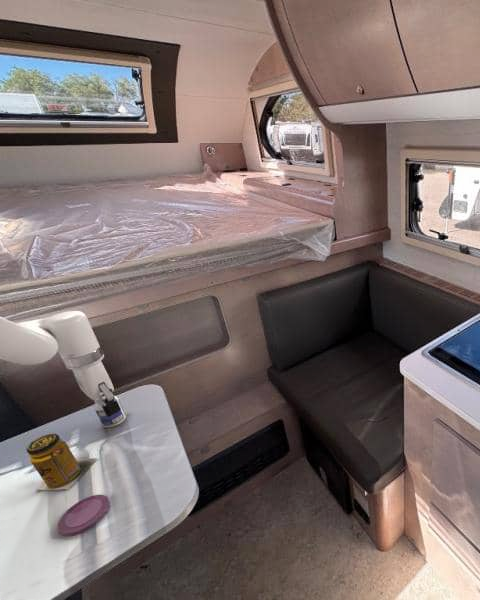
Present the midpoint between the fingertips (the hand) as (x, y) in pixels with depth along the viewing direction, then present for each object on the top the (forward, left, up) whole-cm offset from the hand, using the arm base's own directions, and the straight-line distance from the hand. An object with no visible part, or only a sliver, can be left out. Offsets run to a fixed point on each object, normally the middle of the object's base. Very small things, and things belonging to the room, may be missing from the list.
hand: (108, 407), depth 93 cm
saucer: (-15, -27, -5) cm, 31 cm away
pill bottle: (0, 0, -5) cm, 5 cm away
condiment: (-13, -11, -5) cm, 18 cm away
